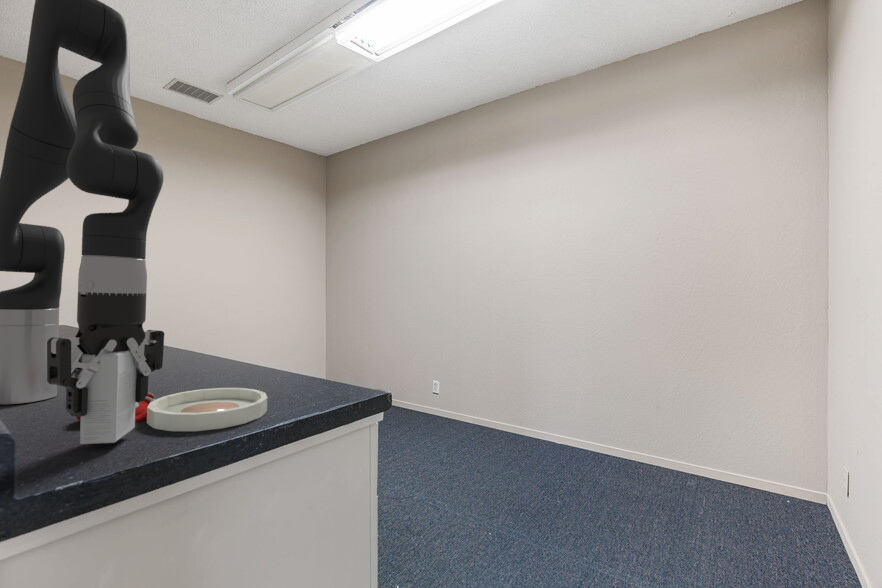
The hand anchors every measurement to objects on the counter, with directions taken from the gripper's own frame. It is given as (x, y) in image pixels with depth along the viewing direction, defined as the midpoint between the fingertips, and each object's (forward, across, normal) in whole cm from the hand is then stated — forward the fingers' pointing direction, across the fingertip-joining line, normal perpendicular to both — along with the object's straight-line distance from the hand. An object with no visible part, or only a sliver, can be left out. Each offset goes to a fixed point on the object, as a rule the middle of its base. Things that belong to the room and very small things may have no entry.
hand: (109, 407), depth 58 cm
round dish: (+5, -16, +1) cm, 17 cm away
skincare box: (+4, 0, 0) cm, 4 cm away
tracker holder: (+6, -10, -10) cm, 15 cm away
